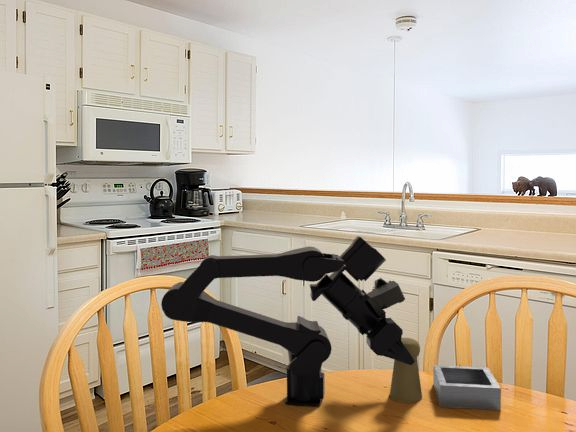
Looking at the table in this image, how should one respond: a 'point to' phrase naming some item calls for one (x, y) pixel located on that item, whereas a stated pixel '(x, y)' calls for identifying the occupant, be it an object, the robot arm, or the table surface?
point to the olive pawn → (407, 376)
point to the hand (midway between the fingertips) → (406, 354)
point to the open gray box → (466, 387)
